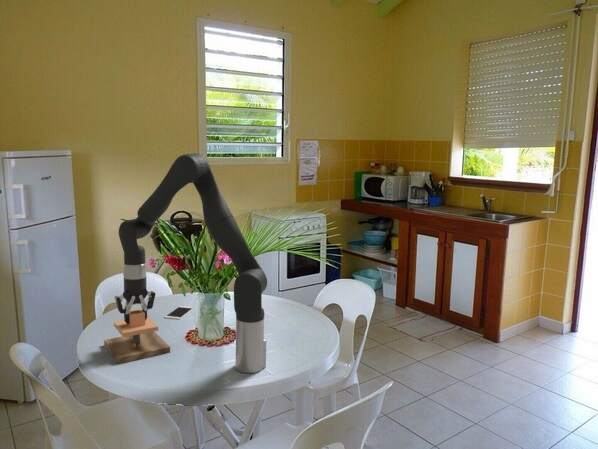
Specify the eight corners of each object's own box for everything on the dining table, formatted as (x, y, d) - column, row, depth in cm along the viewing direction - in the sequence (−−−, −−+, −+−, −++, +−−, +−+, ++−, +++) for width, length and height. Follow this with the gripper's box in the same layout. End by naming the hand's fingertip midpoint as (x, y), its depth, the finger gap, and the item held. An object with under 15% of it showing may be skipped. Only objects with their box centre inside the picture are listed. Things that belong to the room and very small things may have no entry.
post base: (153, 335, 182) (153, 319, 181) (170, 352, 168) (170, 334, 167) (104, 345, 172) (103, 328, 171) (117, 364, 157) (117, 345, 156)
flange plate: (147, 320, 177) (147, 304, 176) (158, 330, 167) (158, 314, 166) (113, 325, 170) (113, 309, 169) (123, 337, 160) (122, 320, 159)
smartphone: (194, 308, 215) (194, 306, 214) (179, 320, 200) (179, 318, 199) (179, 307, 216) (179, 305, 216) (164, 319, 201) (164, 316, 201)
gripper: (116, 280, 158) (117, 329, 161) (158, 275, 167) (159, 321, 169) (110, 275, 164) (112, 322, 167) (151, 270, 173) (152, 315, 175)
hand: (135, 321), depth 168 cm, fingers closed on flange plate, 5 cm apart
